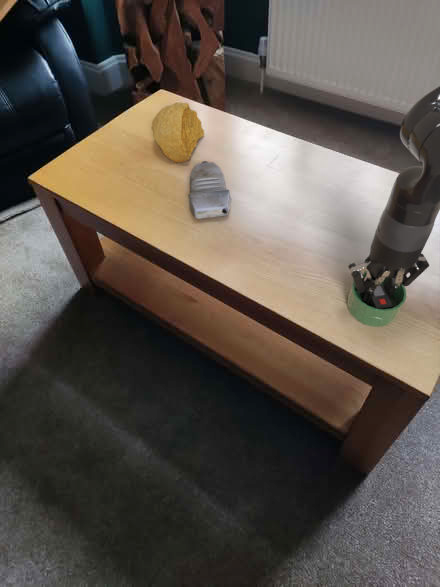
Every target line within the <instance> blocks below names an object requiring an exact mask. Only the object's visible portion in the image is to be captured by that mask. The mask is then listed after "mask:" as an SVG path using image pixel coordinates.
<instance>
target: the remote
mask: <svg viewBox="0 0 440 587" xmlns="http://www.w3.org/2000/svg"><path fill="white" fill-rule="evenodd" d="M363 281H364V279H363ZM368 305H369V306H370V307H373V308H376V309H391V308H393V305H392V303H391V301H390V299H389V297H388V295H387V293H386V291H385V289H384V287H383V285H382V284H381V286H377V288H376V289H375V291H374V295H373V297H372V299H371V302H370V304H368Z"/></svg>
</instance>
